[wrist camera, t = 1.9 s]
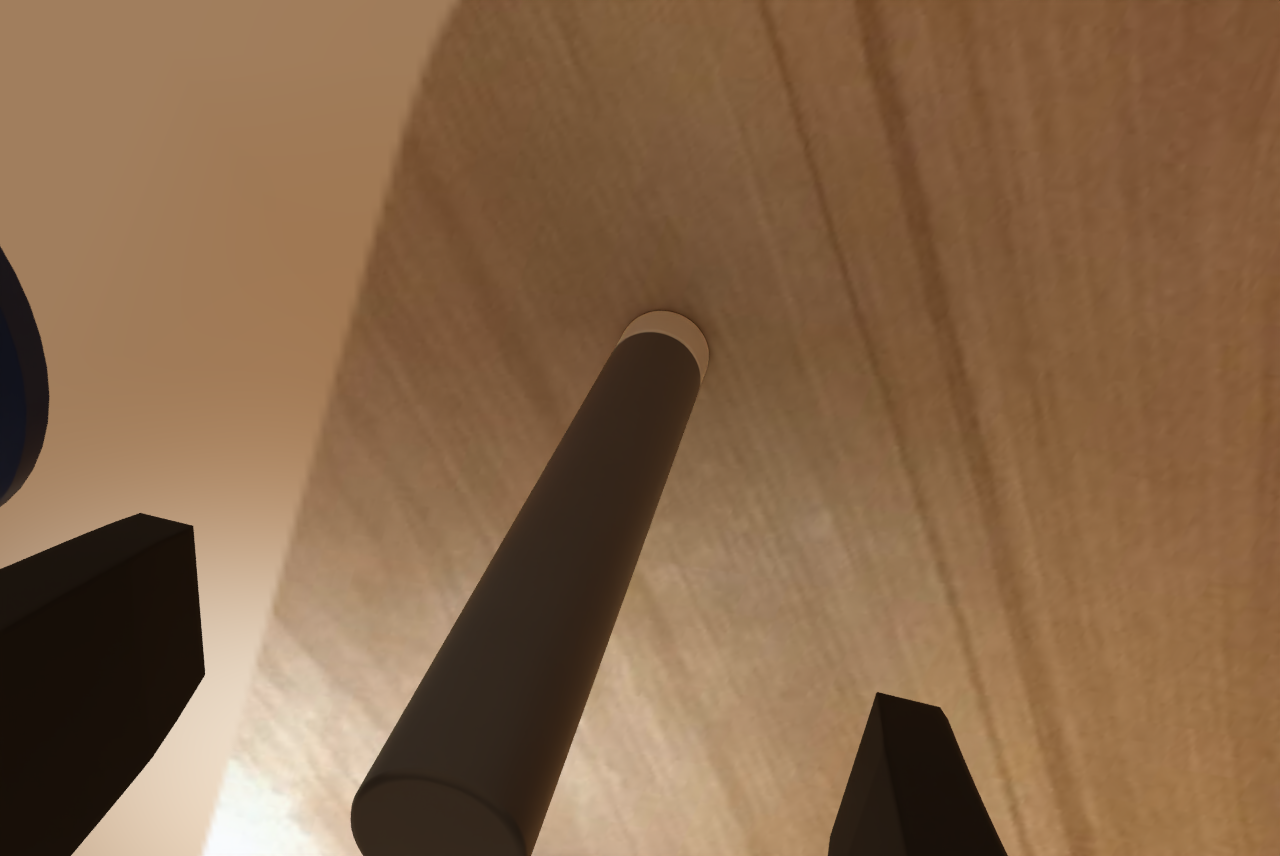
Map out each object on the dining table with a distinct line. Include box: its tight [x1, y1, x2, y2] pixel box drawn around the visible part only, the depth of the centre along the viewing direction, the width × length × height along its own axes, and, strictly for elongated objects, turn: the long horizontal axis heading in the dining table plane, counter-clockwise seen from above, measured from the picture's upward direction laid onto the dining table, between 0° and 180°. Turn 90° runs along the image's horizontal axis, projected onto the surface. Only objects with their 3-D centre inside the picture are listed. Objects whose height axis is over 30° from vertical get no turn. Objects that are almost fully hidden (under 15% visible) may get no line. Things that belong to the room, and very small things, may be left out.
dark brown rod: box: [351, 311, 709, 856], centre depth 14 cm, size 2×2×11 cm
